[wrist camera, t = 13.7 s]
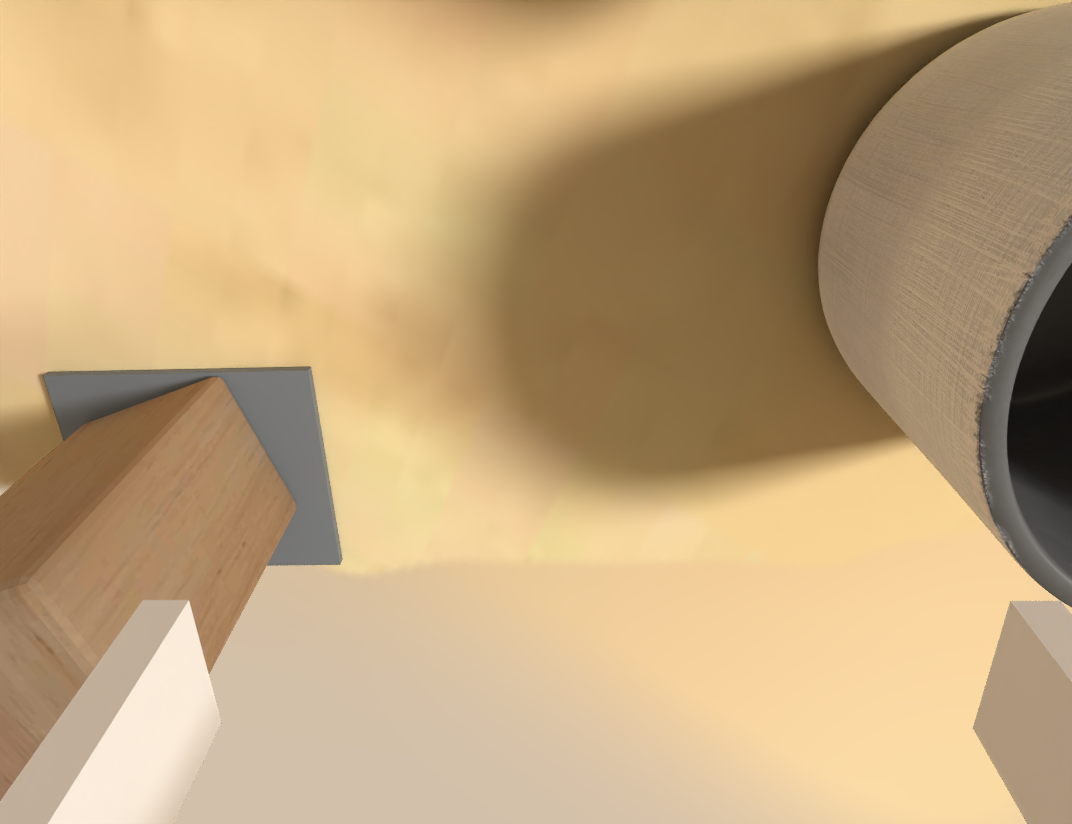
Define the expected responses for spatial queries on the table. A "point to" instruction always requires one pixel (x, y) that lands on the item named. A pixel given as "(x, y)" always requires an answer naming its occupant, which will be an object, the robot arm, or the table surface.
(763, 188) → the table surface
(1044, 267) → the planter
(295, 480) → the mat
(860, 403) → the table surface
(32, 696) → the wooden block
